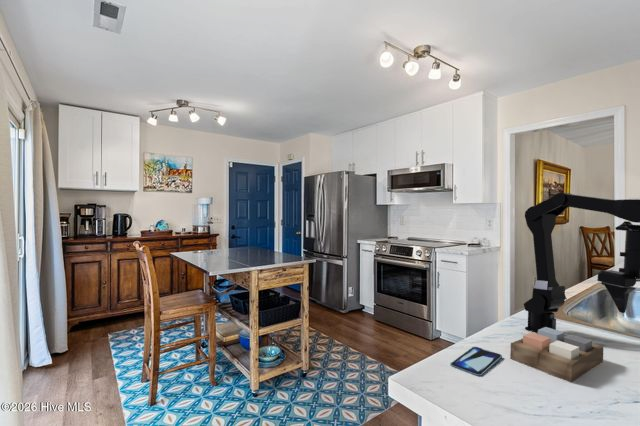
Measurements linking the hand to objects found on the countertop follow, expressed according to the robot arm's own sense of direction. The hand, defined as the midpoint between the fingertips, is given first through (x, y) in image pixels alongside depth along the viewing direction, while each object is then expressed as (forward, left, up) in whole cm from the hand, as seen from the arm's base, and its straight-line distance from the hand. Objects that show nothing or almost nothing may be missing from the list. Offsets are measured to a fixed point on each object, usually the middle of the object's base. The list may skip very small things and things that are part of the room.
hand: (636, 311), depth 81 cm
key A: (-8, -20, -10) cm, 23 cm away
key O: (-8, -12, -10) cm, 17 cm away
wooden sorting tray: (-11, -16, -13) cm, 23 cm away
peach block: (-14, -20, -10) cm, 26 cm away
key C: (-14, -12, -10) cm, 21 cm away
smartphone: (-21, -34, -14) cm, 42 cm away
